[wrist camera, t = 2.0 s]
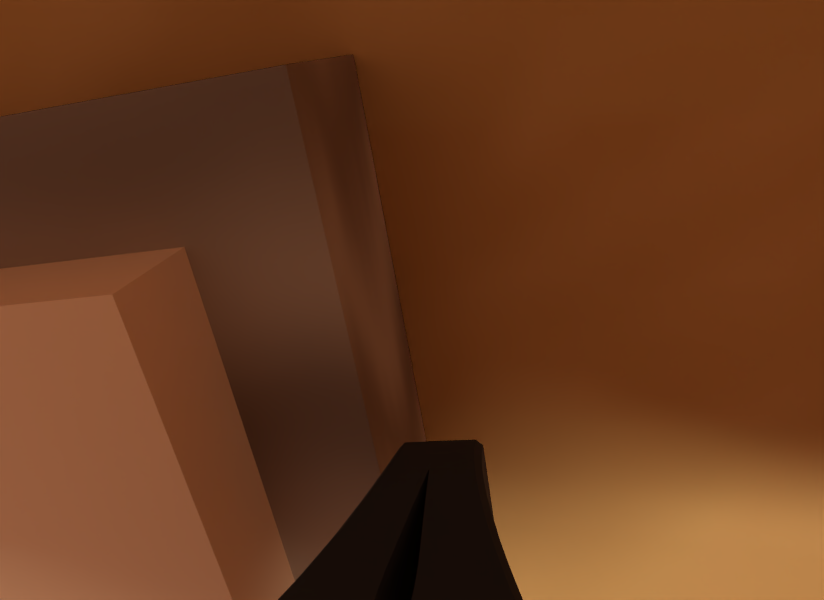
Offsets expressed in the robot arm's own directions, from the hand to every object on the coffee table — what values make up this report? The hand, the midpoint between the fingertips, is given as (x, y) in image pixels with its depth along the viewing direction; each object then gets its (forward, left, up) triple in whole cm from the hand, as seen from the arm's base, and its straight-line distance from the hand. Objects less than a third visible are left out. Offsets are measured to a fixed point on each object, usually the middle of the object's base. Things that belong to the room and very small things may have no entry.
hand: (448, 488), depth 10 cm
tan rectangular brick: (0, +7, -1) cm, 7 cm away
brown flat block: (0, +7, -5) cm, 9 cm away
